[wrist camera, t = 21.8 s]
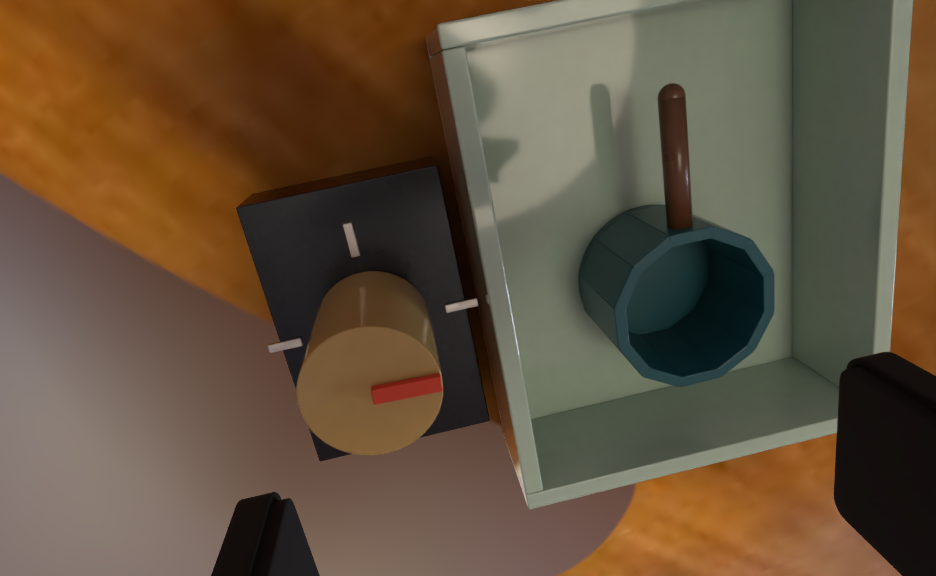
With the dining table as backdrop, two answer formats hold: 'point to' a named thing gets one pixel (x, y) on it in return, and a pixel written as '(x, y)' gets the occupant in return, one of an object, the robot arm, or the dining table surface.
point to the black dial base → (366, 266)
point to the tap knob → (371, 366)
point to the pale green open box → (641, 183)
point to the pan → (676, 276)
